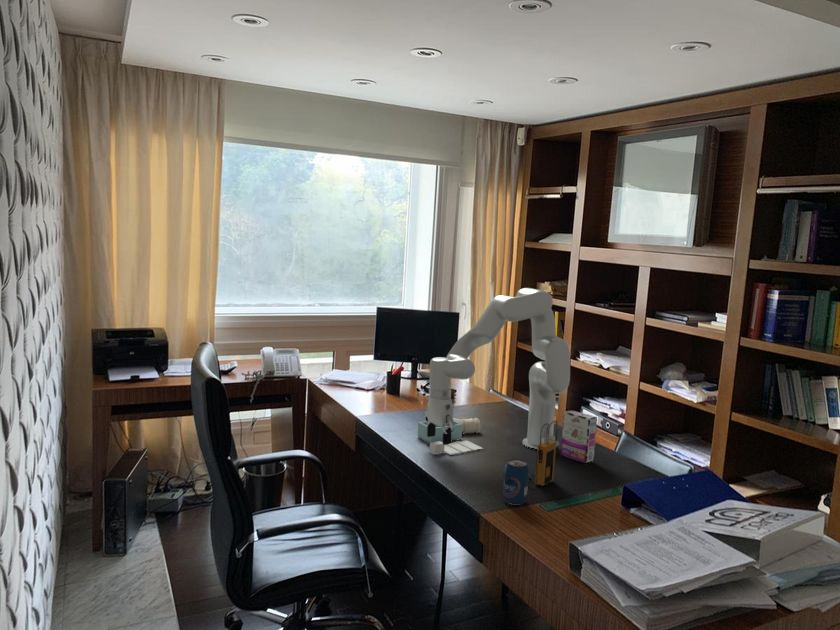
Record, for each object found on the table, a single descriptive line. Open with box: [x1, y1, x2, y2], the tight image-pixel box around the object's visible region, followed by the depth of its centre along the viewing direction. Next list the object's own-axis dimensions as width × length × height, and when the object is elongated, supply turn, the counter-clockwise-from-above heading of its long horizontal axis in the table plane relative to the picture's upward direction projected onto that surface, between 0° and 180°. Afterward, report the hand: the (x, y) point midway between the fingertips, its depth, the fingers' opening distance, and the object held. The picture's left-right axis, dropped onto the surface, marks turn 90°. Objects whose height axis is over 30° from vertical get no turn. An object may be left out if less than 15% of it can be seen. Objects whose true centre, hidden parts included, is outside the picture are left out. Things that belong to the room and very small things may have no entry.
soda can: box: [502, 458, 530, 504], centre depth 183 cm, size 7×7×12 cm
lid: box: [429, 440, 484, 455], centre depth 227 cm, size 10×19×4 cm, turn 123°
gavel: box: [453, 417, 482, 435], centre depth 259 cm, size 10×6×32 cm
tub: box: [417, 420, 463, 444], centre depth 238 cm, size 9×14×6 cm, turn 123°
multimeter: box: [534, 420, 558, 489], centre depth 200 cm, size 15×10×20 cm
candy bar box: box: [560, 409, 598, 463], centre depth 222 cm, size 11×5×16 cm, turn 40°
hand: (438, 440), depth 222 cm, fingers open, 9 cm apart
